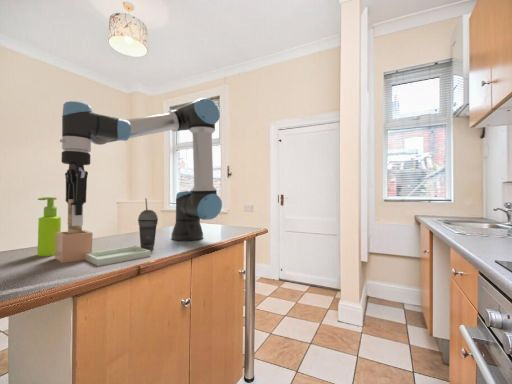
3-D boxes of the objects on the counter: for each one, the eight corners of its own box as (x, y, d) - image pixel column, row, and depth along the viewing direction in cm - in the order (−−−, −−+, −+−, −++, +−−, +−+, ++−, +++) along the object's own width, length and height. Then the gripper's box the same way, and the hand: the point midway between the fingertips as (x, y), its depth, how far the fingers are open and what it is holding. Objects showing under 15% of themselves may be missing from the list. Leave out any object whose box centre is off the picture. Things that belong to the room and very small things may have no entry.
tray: (135, 253, 92) (135, 245, 92) (150, 258, 85) (150, 250, 85) (84, 261, 79) (84, 253, 79) (97, 268, 72) (97, 259, 72)
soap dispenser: (29, 259, 81) (31, 197, 81) (47, 254, 88) (49, 197, 88) (47, 259, 81) (49, 197, 81) (64, 254, 88) (65, 197, 88)
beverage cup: (149, 252, 94) (151, 198, 94) (132, 250, 95) (134, 198, 95) (161, 248, 101) (162, 198, 101) (144, 247, 102) (146, 198, 103)
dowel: (79, 253, 83) (80, 199, 83) (82, 255, 80) (84, 199, 81) (65, 255, 80) (67, 199, 80) (69, 257, 78) (70, 199, 78)
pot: (83, 256, 85) (84, 230, 86) (91, 260, 81) (92, 232, 81) (54, 260, 79) (55, 232, 79) (61, 265, 74) (62, 235, 75)
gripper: (54, 152, 83) (53, 223, 82) (70, 147, 72) (69, 228, 72) (81, 155, 88) (80, 221, 88) (99, 151, 78) (98, 226, 78)
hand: (75, 224), depth 80 cm, fingers closed on dowel, 3 cm apart
